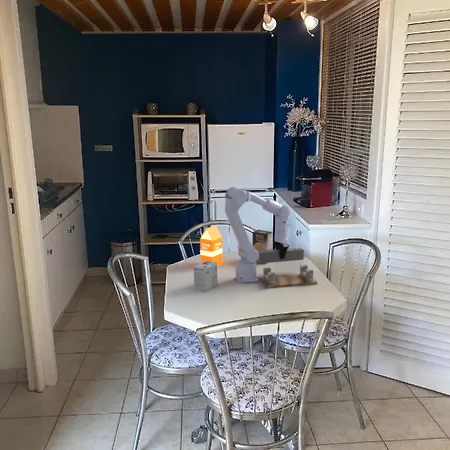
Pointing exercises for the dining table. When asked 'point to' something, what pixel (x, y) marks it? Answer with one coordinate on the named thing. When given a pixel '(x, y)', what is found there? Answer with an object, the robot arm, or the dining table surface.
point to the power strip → (274, 257)
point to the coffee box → (262, 240)
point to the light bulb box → (205, 275)
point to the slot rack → (287, 278)
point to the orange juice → (211, 245)
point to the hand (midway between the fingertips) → (280, 257)
